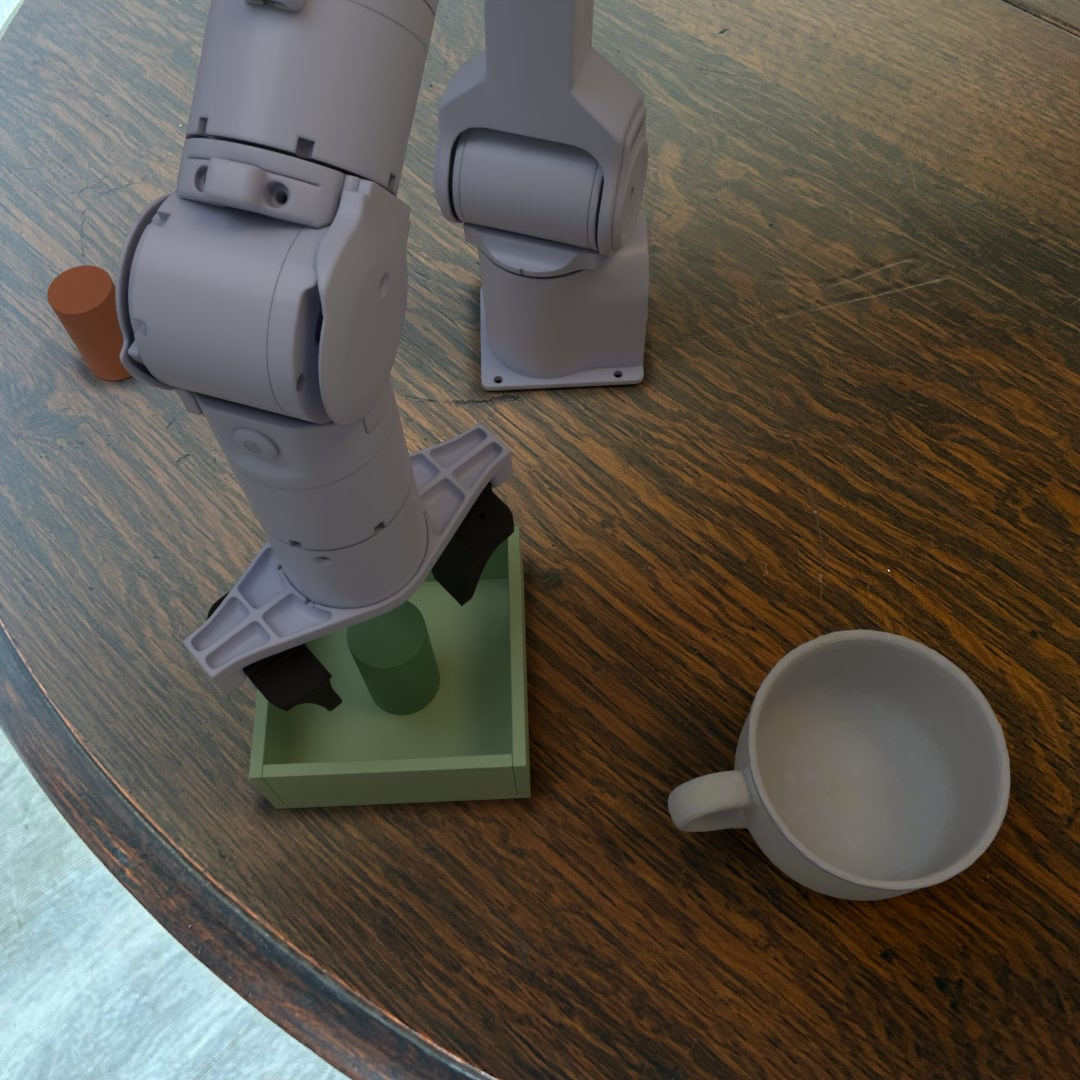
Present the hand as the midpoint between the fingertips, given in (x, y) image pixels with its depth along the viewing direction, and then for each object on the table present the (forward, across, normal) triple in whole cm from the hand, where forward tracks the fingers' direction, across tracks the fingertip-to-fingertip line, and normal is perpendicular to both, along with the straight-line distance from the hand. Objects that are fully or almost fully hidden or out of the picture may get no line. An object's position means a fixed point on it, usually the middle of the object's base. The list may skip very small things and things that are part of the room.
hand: (389, 638), depth 50 cm
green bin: (+6, 0, 0) cm, 6 cm away
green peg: (+5, 0, 0) cm, 5 cm away
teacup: (+6, -10, +18) cm, 21 cm away
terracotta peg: (+6, 0, -28) cm, 29 cm away
